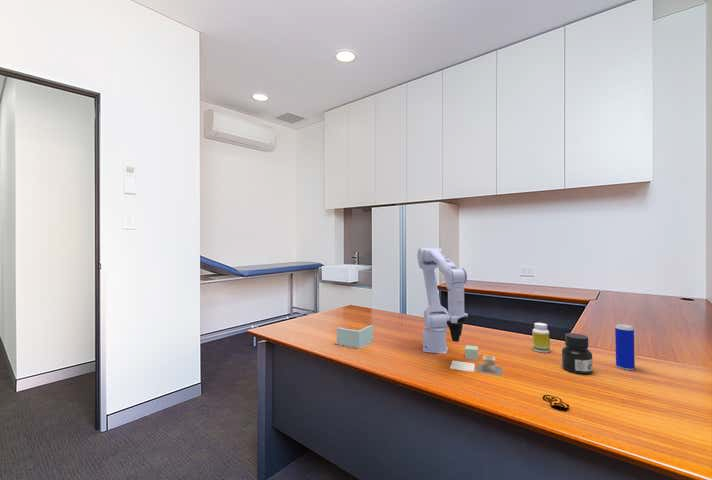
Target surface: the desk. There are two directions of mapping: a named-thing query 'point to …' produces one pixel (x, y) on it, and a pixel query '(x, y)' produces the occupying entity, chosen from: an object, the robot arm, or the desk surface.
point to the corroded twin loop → (558, 407)
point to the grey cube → (489, 363)
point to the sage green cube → (471, 352)
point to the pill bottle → (541, 338)
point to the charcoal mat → (480, 370)
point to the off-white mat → (462, 366)
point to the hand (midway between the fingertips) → (456, 338)
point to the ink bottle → (577, 354)
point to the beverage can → (624, 346)
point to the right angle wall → (355, 337)
